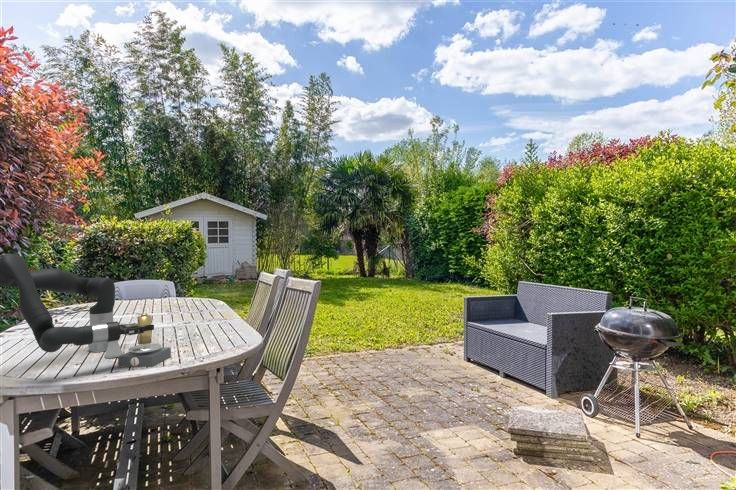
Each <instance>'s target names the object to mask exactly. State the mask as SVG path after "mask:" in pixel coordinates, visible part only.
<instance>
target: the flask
mask: <svg viewBox="0 0 736 490" xmlns="http://www.w3.org/2000/svg"><path fill="white" fill-rule="evenodd" d="M104 353H105V354H104V359H115V358H118V356H120V355H123V354H124V353H123V351H122V348H121V346H120V343H119V340H118V341H112V342H109V345H108V347H107V350H106V351H105V352H104Z"/></svg>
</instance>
